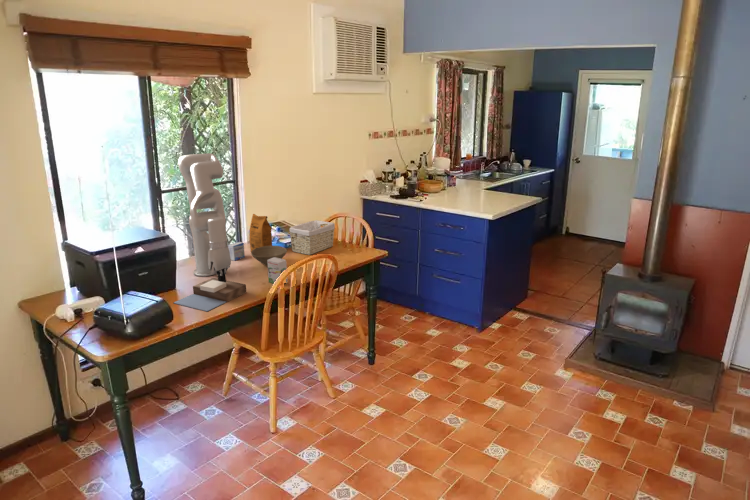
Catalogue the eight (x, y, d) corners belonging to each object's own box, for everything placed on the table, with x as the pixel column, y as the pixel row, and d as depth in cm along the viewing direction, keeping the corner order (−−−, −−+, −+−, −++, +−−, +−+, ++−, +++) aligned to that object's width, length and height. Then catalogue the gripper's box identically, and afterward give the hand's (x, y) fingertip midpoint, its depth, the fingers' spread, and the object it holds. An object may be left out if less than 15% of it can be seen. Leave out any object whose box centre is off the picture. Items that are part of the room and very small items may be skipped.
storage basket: (315, 242, 320) (314, 219, 315) (336, 246, 311) (336, 222, 307) (289, 252, 301) (287, 227, 296) (310, 256, 292) (309, 231, 288)
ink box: (268, 282, 253) (266, 259, 250) (275, 279, 257) (273, 256, 254) (280, 285, 249) (279, 262, 245) (288, 282, 253) (286, 259, 249)
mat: (193, 294, 238) (193, 293, 238) (226, 302, 230) (226, 301, 229) (173, 303, 229) (173, 302, 229) (207, 311, 220) (207, 310, 220)
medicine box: (234, 261, 285) (233, 246, 283) (228, 259, 287) (227, 244, 285) (245, 257, 292) (243, 242, 289) (239, 256, 294) (238, 241, 291)
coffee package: (260, 248, 309) (258, 211, 302) (275, 251, 301) (272, 214, 295) (247, 252, 301) (244, 215, 295) (261, 256, 294) (259, 218, 287)
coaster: (212, 283, 240) (212, 279, 240) (226, 286, 237) (225, 282, 236) (200, 289, 233) (199, 285, 233) (214, 292, 230) (213, 288, 229)
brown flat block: (214, 285, 250) (213, 277, 248) (246, 292, 241) (245, 284, 240) (193, 294, 239) (192, 286, 237) (226, 302, 230) (225, 293, 229)
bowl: (269, 272, 267) (268, 257, 265) (244, 266, 277) (243, 251, 274) (294, 262, 282) (293, 248, 279) (269, 257, 291) (268, 243, 289)
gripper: (223, 239, 242) (227, 276, 248) (200, 247, 230) (204, 286, 235) (236, 241, 239) (239, 279, 245) (212, 250, 226) (216, 289, 232)
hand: (222, 282), depth 240 cm, fingers closed
